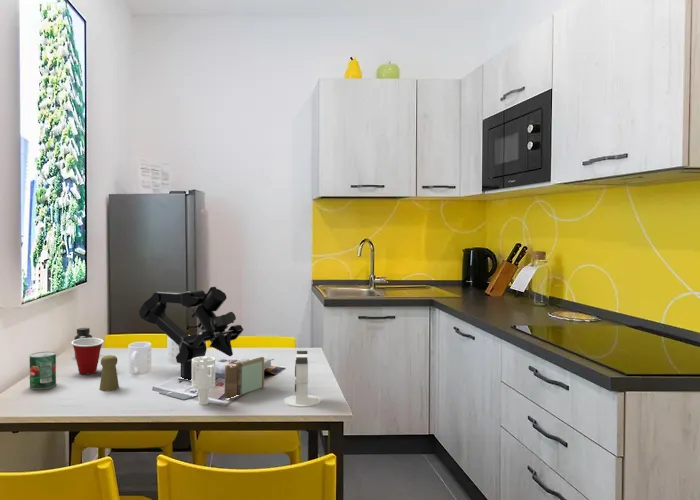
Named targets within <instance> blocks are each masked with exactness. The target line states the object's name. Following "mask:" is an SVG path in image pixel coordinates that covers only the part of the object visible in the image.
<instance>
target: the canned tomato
mask: <svg viewBox="0 0 700 500" xmlns="http://www.w3.org/2000/svg"><path fill="white" fill-rule="evenodd" d="M56 359H57V353H56V352H55V351H39V352H33V353H31V354H29V389H31V390H47V389H51V388H54V387H56V386H57V360H56Z"/></svg>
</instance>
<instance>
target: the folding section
mask: <svg viewBox="0 0 700 500" xmlns="http://www.w3.org/2000/svg"><path fill="white" fill-rule="evenodd" d="M264 358H265V357H264V356H260V357H257V358H253V359H249V361H245V362H242V363H241V395H244V394H247V393H249V392H253V391H256V390H258V389H261V388H264V387H265V370H264Z"/></svg>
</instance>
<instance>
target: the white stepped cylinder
mask: <svg viewBox="0 0 700 500" xmlns="http://www.w3.org/2000/svg"><path fill="white" fill-rule="evenodd" d="M197 365H199V366H197ZM215 386H216V358H215V357H214V356H207V355H205V356H202V357H196V358H193V359H192V381H191V388H192V389H195V390H198V396H197V398H198V402H197V403H198V405H201V406H202V405H203V406H205V405H209V398H210V397H209V393H210V392H209V389H212V388H214V387H215Z"/></svg>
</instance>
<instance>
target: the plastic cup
mask: <svg viewBox="0 0 700 500" xmlns="http://www.w3.org/2000/svg"><path fill="white" fill-rule="evenodd" d="M103 343H104V340H103V339H102V338H98V337H93V338H81V339H76V340H74V339H73V340H72V341H71V345H72V347H73V351H74V357H75V356H76V358H75V360H76V365H77V370H78V373H79V374H80V375H92V374H93V375H94V374H95V373H97V370H98V364H99V360H100V353H101V350H102V345H103Z"/></svg>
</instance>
